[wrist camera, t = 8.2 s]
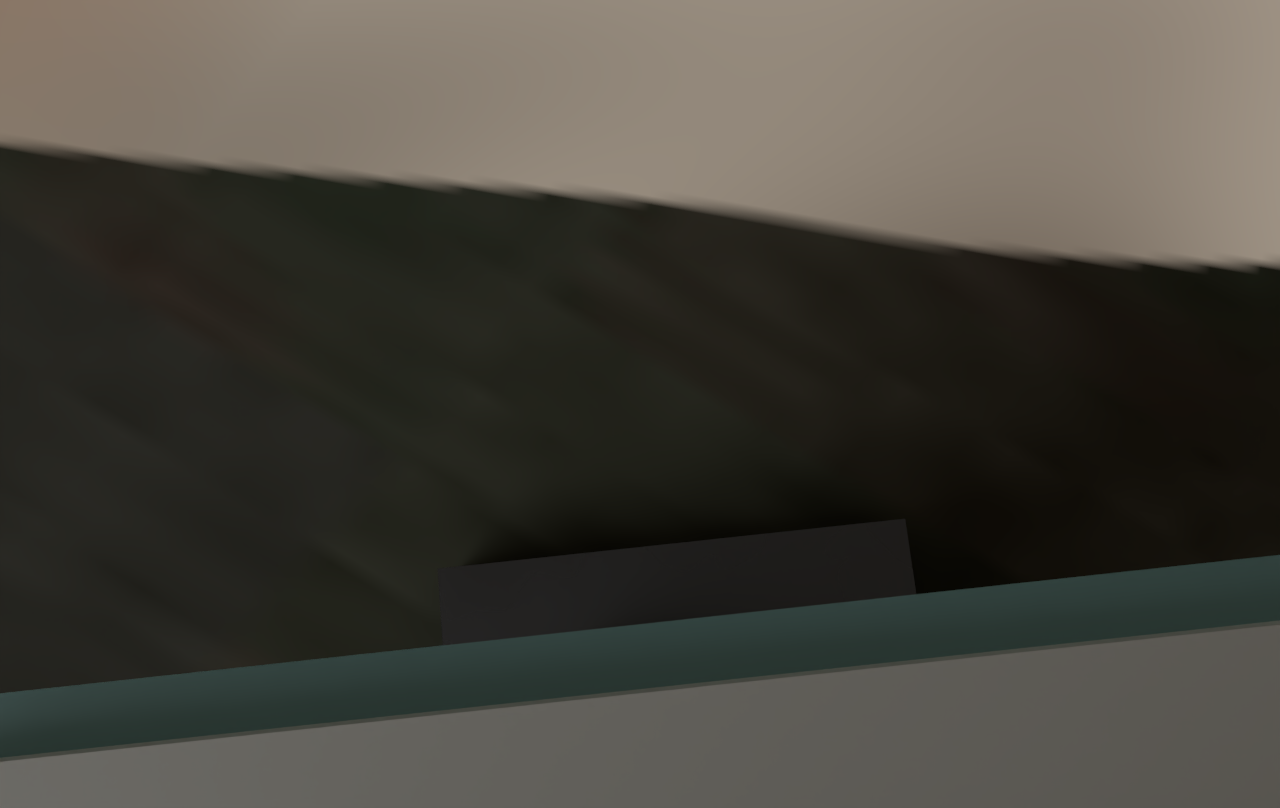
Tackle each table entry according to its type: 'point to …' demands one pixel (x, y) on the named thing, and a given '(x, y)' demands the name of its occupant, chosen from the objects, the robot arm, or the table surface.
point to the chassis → (675, 581)
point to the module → (720, 711)
